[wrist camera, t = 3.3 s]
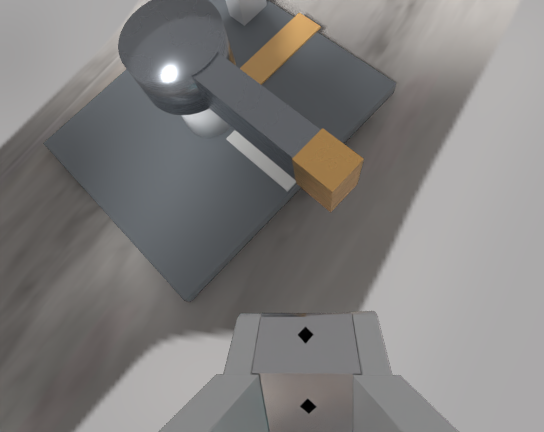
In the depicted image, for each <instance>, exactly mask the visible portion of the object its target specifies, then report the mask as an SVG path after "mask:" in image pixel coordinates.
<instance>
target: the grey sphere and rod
mask: <svg viewBox="0 0 544 432" xmlns="http://www.w3.org/2000/svg"><path fill="white" fill-rule="evenodd" d="M118 49H119V55H120V58H121V61H122V63H123V64H124V66H125V67H126V69H127V70H128V71H129V72H130V74H131V75H132V76H133V78H134V79H135V80H136V82H137V83H138V84H139V86H140V87H141V88H142V90H143V91H144V92H145V94H146V95H147V96H148V98H149V99H150V100H151V101H152V103H153V104H154V105H155V106H156V107H158V108H159V109H161V110H162V111H164V112H167V113H170V114H174V115H191V114H196V113H200V112H202V111H205V110H207V109H210V110H212V111H213V112H214V113H215V114H216V115H218V116H219V117H220V118H221V119H222V120H224V121H225V122H226V123H227V124H228V125H230V126H231V127H232V128H233V129H234V130H236V131H237V132H238V133H239V134H240V135H242V136H243V137H244V138H245V139H246V140H248V141H249V142H250V143H251V144H252V145H254V146H255V147H256V148H257V149H258V150H260V151H261V152H262V153H263V154H264V155H266V156H267V157H268V158H269V159H270V160H272V161H273V162H274V163H275V164H276V165H278V166H279V167H280V168H281V169H282V170H284V171H285V172H286V173H287V174H288V175H290V176H291V177H292V178H293V179H294V180H296V184H297V185H299V186H300V187H301V188H302V189H303V190H304V191H306V192H307V193H308V194H309V195H310V196H312V197H313V198H314V199H315V200H316V201H318V202H319V203H320V204H321V205H322V206H324V207H325V208H326V209H327V210H328V211H330V212H332V211H333V209H334V208H335V207H336V206H337V205H338V204H339V203H340V202H341V201H342V200H343V199H344V198H345V197H346V196H347V195H348V194H349V193H350V191H351V190H352V189H353V188H354V187H355V186H356V185H357V184H358V180H359V176H360V172H361V168H362V164H363V161H364V159H363V158H362V157H361V156H359V155H358V154H357V153H355V152H354V151H353V150H351V149H350V148H349V147H347V146H346V145H345V144H343V143H342V142H341V141H339V140H338V139H337V138H335V137H334V136H333V135H331V134H330V133H329V132H327V131H326V130H325V129H323V128H322V129H321V130H320V129H319V128H318V127H316V126H315V125H314V124H313V123H311V122H310V121H309V120H307V119H306V118H305V117H303V116H302V115H301V114H299V113H298V112H297V111H295V110H294V109H293V108H291V107H290V106H289V105H287V104H286V103H285V102H283V101H282V100H281V99H279V98H278V97H277V96H275V95H274V94H273V93H271V92H270V91H269V90H267V89H266V88H265V87H263V86H262V85H261V84H259V83H258V82H257V81H255V80H254V79H253V78H251V77H250V76H249V75H247V74H246V73H245V72H243V71H242V70H241V69H240V68H238V67H237V66H236V62H235V58H234V55H233V52H232V49H231V46H230V43H229V40H228V37H227V33H226V30H225V27H224V24H223V21H222V18H221V16H220V13H219V11H218V10H217V8H216V7H215V6H214V5H213V4H212V3H211V2H210V1H208V0H151V1H149V2H148V3H146V4H145V5H143V6H142V7H140V8H139V9H138V10H137V11H136V12H135V13H133V14H132V16H131V17H130V18H129V19H128V21H127V22H126V24H125V25H124V27H123V29H122V31H121V34H120V38H119V44H118Z"/></svg>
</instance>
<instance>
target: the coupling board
mask: <svg viewBox="0 0 544 432" xmlns="http://www.w3.org/2000/svg"><path fill="white" fill-rule="evenodd" d="M208 1H210V2H211V3H212V4H213V5H214V6H215V7H216V8H217V10H218V11H219V13H220V16H221V18H222V21H223V24H224V27H225V30H226V33H227V37H228V40H229V43H230V46H231V49H232V52H233V55H234V58H235V62H236V66H237V67H238V68H240V69H241V70H242V71H243V72H245V73H246V74H247V75H249V76H250V77H251V78H253V79H254V80H255V81H257V82H258V83H259V84H261V85H262V86H263V87H265V88H266V89H267V90H269V91H270V92H271V93H273V94H274V95H275V96H277V97H278V98H279V99H281V100H282V101H283V102H285V103H286V104H287V105H289V106H290V107H291V108H293V109H294V110H295V111H297V112H298V113H299V114H301V115H302V116H303V117H305V118H306V119H307V120H309V121H310V122H311V123H313V124H314V125H315V126H316V127H318V128H319V129H320V130H321V129H322V128H323V129H325V130H326V131H327V132H329V133H330V134H331V135H333V136H334V137H335V138H337V139H338V140H339V141H341V142H342V143H343V144H344V143H345V142H346V141H347V140H348V139H349V138H350V137H351V136H352V135H353V134H354V133H355V132H356V131H357V130H358V128H359V127H360V126H361V125H362V124H363V123H364V122H365V121H366V120H367V119H368V118H369V117H370V116H371V115H372V114H373V113H374V112H375V111H376V110H377V109H378V108H379V107H380V106H381V105H382V104H383V103H384V102H385V101H386V100H387V99H388V98H389V97H390V96H391V94H392V93H393V92H394V89H395V86H396V83H395V82H394V81H392V80H391V79H389V78H388V77H386V76H385V75H383V74H381V73H380V72H378V71H377V70H375V69H374V68H372V67H371V66H369V65H368V64H366V63H364V62H363V61H361V60H360V59H358V58H357V57H355V56H354V55H352V54H351V53H349V52H347V51H346V50H344V49H343V48H341V47H340V46H338V45H337V44H335V43H334V42H332V41H330V40H329V39H327V38H326V37H324V36H323V35H321V34H320V33H318V32H317V31H318V30H319V29H320V28H321V26H319V25H318V24H316V23H315V22H313V21H312V20H310V19H308V18H307V17H305V16H304V15H302V14H301V13H298V14H297V15H296V16H295V17H293V16H292V15H290V14H289V13H287V12H286V11H284V10H283V9H281V8H279V7H278V6H276V5H275V4H273V3H272V2H270V1H269V0H208ZM43 144H44V145H45V146H46V147H47V148H48V149H49V150H50V151H51V153H52V154H53V155H54V156H55V157H56V158H57V159H58V160H59V161H60V163H61V164H62V165H63V166H64V167H65V168H66V169H67V170H68V171H69V173H70V174H71V175H72V176H73V177H74V178H75V179H76V180H77V181H78V183H79V184H80V185H81V186H82V187H83V188H84V189H85V190H86V191H87V193H88V194H89V195H90V196H91V197H92V198H93V199H94V200H95V201H96V203H97V204H98V205H99V206H100V207H101V208H102V209H103V210H104V211H105V213H106V214H107V215H108V216H109V217H110V218H111V219H112V220H113V222H114V223H115V224H116V225H117V226H118V227H119V228H120V229H121V230H122V232H123V233H124V234H125V235H126V236H127V237H128V238H129V239H130V240H131V242H132V243H133V244H134V245H135V246H136V247H137V248H138V249H139V250H140V252H141V253H142V254H143V255H144V256H145V257H146V258H147V259H148V260H149V262H150V263H151V264H152V265H153V266H154V267H155V268H156V269H157V270H158V272H159V273H160V274H161V275H162V276H163V277H164V278H165V279H166V280H167V282H168V283H169V284H170V285H171V286H172V287H173V288H174V289H175V291H176V292H177V293H178V294H179V295H180V296H181V297H182V298H183V299H184V301H189V302H191V301H192V300H193V299H194V298H195V297H196V295H197V294H198V293H199V292H200V291H201V290H202V289H203V288H204V287H205V286H206V285H207V284H208V283H209V282H210V281H211V280H212V279H213V278H214V277H215V276H216V275H217V274H218V273H219V272H220V271H221V270H222V269H223V268H224V267H225V266H226V265H227V264H228V262H229V261H230V260H231V259H232V258H233V257H234V256H235V255H236V254H237V253H238V252H239V251H240V250H241V249H242V248H243V247H244V246H245V245H246V244H247V243H248V242H249V241H250V240H251V239H252V238H253V237H254V236H255V235H256V234H257V233H258V232H259V231H260V230H261V228H262V227H263V226H264V225H265V224H266V223H267V222H268V221H269V220H270V219H271V218H272V217H273V216H274V215H275V214H276V213H277V212H278V211H279V210H280V209H281V208H282V207H283V206H284V205H285V204H286V203H287V202H288V201H289V200H290V199H291V198H292V197H293V195H294V194H295V193H296V192H297V191H298V190H299V189H300V188H301V187H300V186H299V185H297V184H296V180H294V179H293V178H292V177H291V176H290V175H288V174H287V173H286V172H285V171H284V170H282V169H281V168H280V167H279V166H278V165H276V164H275V163H274V162H273V161H272V160H270V159H269V158H268V157H267V156H266V155H264V154H263V153H262V152H261V151H260V150H258V149H257V148H256V147H255V146H254V145H252V144H251V143H250V142H249V141H248V140H246V139H245V138H244V137H243V136H242V135H240V134H239V133H238V132H237V131H236V130H234V129H233V128H232V127H231V126H230V125H228V124H227V123H226V122H225V121H224V120H222V119H221V118H220V117H219V116H218V115H216V114H215V113H214V112H213V111H212V110H210V109H207V110H205V111H202V112H200V113H196V114H191V115H174V114H170V113H167V112H164V111H162V110H161V109H159V108H158V107H156V106H155V105H154V104H153V103H152V101H151V100H150V99H149V98H148V96H147V95H146V94H145V92H144V91H143V90H142V88H141V87H140V86H139V84H138V83H137V82H136V80H135V79H134V78H133V76H132V75H131V74H130V72H129V71H128V70H127V69H126V70H125V71H124V72H123V73H122V74H121V75H120V76H118V77H117V78H116V79H115V80H114V81H113V82H112V83H111V84H109V85H108V86H107V87H106V88H105V89H104V90H103V91H102V92H100V93H99V94H98V95H97V96H96V97H95V98H94V99H93V100H91V101H90V102H89V103H88V104H87V105H86V106H85V107H84V108H82V109H81V110H80V111H79V112H78V113H77V114H76V115H75V116H74V117H72V118H71V119H70V120H69V121H68V122H67V123H66V124H65V125H63V126H62V127H61V128H60V129H59V130H58V131H57V132H56V133H54V134H53V135H52V136H51V137H50V138H49V139H48V140H47V141H45V142H44V143H43Z"/></svg>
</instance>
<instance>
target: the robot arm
mask: <svg viewBox="0 0 544 432" xmlns="http://www.w3.org/2000/svg"><path fill="white" fill-rule="evenodd" d="M159 432H459V431H458V430H457V429H456V428H455V427H454V426H453V425H452V424H451V423H449V421H448V420H446V419H445V418H444V417H443V416H442V415H441V414H440V413H439V412H438V411H437V410H436V409H435V408H434V407H433V406H432V405H431V404H430V403H429V402H427V400H426V399H424V398H423V397H422V396H421V395H420V394H419V393H418V392H417V391H416V390H415V389H414V388H413V387H412V386H411V385H410V384H409V383H408V382H407V381H406V380H405V379H404V378H403V377H402V376H400V375H392V371H391V367H390V364H389V360H388V356H387V352H386V348H385V344H384V340H383V336H382V332H381V328H380V324H379V320H378V316H377V314H376V312H374V311H360V312H335V313H262V314H250V313H240V315H239V316H238V318H237V321H236V325H235V329H234V333H233V337H232V341H231V345H230V349H229V353H228V357H227V362H226V365H225V370H224V374H217V375H215V376H214V377H213V378H212V379H211V380H210V381H209V382H208V383H207V384H206V385H205V386H204V387H203V388H202V389H201V390H200V391H199V392H198V393H197V394H196V395H195V396H194V397H193V398H192V399H191V400H190V401H189V402H188V403H187V404H186V405H185V406H184V407H183V408H182V409H181V410H180V411H179V412H178V413H177V414H176V415H175V416H174V417H173V418H172V419H171V420H170V421H169V422H168V423H167V424H166V425H165V426H164V427H163V428H162V429H161V430H160V431H159Z"/></svg>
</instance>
